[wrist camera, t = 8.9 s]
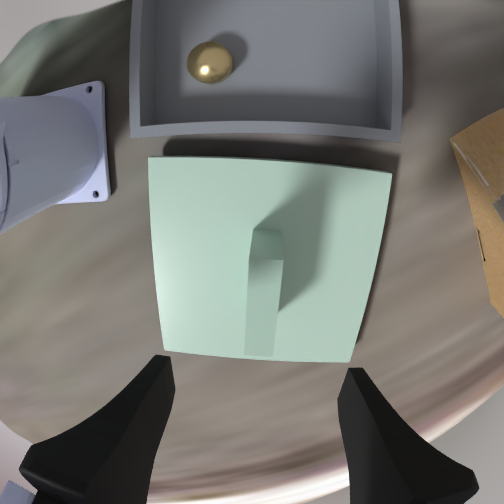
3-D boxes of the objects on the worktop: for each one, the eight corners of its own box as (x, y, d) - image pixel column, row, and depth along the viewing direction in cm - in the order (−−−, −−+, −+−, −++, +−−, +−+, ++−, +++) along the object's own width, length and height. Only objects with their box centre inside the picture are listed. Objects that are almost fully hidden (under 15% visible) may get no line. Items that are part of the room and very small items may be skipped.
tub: (150, 135, 18) (130, 138, 15) (157, -54, 12) (142, -73, 9) (381, 138, 17) (400, 143, 14) (373, -53, 11) (386, -72, 9)
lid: (169, 338, 24) (149, 387, 19) (156, 154, 18) (117, 169, 13) (346, 350, 24) (359, 401, 19) (384, 169, 18) (422, 189, 13)
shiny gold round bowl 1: (192, 86, 16) (186, 84, 15) (191, 48, 15) (186, 43, 14) (234, 83, 16) (231, 80, 15) (233, 44, 15) (230, 40, 14)
